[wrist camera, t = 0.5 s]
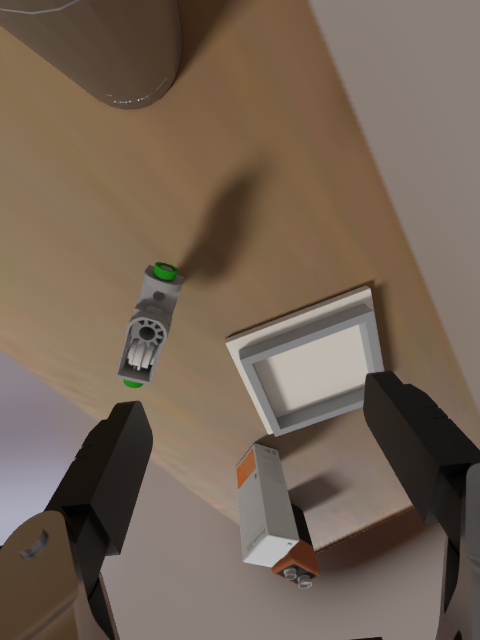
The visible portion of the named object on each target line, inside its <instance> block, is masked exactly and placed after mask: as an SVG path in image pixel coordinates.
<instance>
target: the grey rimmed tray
mask: <svg viewBox="0 0 480 640" xmlns="http://www.w3.org/2000/svg"><path fill="white" fill-rule="evenodd" d="M225 343H226V346H227V348H228V350H229V352H230V354H231V356H232V358H233V360H234V362H235V365H236V367H237V369H238V371H239V373H240V375H241V377H242V379H243V382H244V384H245V386H246V388H247V390H248V392H249V394H250V396H251V398H252V401H253V403H254V405H255V407H256V409H257V411H258V413H259V415H260V418H261V420H262V422H263V424H264V426H265V428H266V430H267V432H268V434H269V435H270V434H273V433H274V435H275V437H277V436H280V435H283V434H286V433H289V432H292V431H295V430H297V429H300V428H303V427H306V426H309V425H312V424H315V423H317V422H320V421H323V420H326V419H329V418H332V417H335V416H337V415H340V414H343V413H346V412H349V411H352V410H355V409H358V408H360V407H363V403H364V390H365V378H366V375H367V374H368V373H375V372H383V371H384V367H383V361H382V355H381V349H380V343H379V337H378V331H377V325H376V319H375V313H374V307H373V301H372V295H371V289H370V288H369V287H368V286H366V285H365V286H363V287H360V288H357V289H355V290H352V291H349V292H347V293H344V294H342V295H339V296H336V297H334V298H331V299H328V300H326V301H323V302H320V303H318V304H315V305H313V306H310V307H307V308H305V309H302V310H299V311H297V312H294V313H292V314H289V315H286V316H284V317H281V318H278V319H276V320H273V321H271V322H268V323H265V324H263V325H260V326H257V327H255V328H252V329H250V330H247V331H244V332H242V333H239V334H236V335H234V336H231V337H228V338H226V339H225Z"/></svg>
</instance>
